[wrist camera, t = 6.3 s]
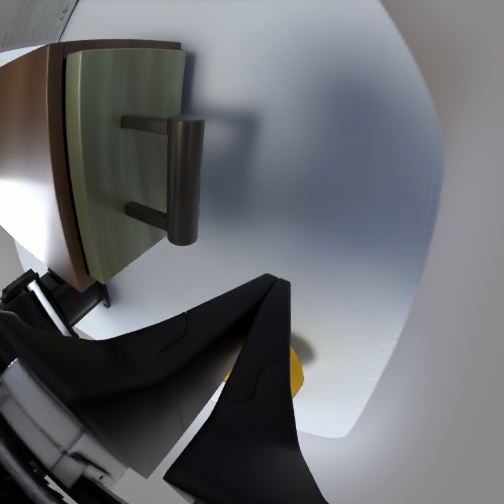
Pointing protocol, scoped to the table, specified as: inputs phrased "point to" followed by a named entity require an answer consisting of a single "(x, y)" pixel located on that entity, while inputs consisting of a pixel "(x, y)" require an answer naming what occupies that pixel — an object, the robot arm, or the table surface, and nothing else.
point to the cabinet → (44, 155)
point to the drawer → (129, 154)
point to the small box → (32, 22)
